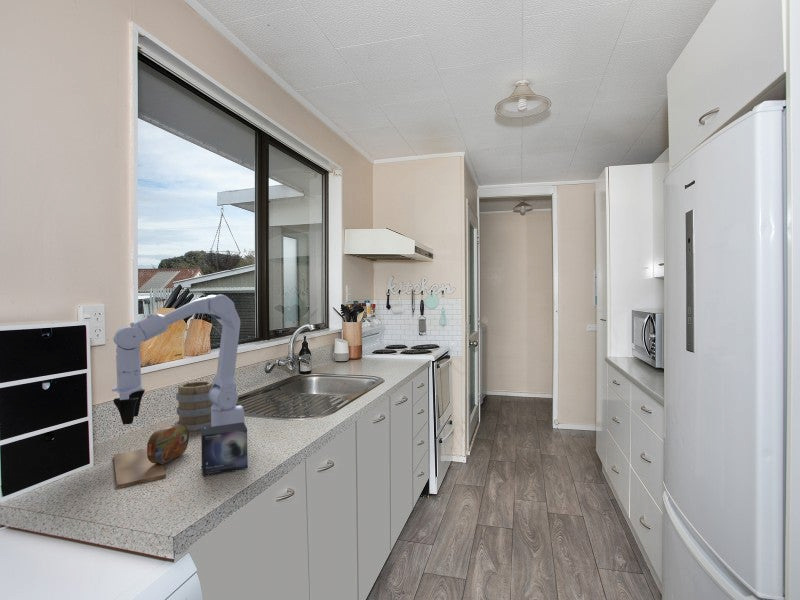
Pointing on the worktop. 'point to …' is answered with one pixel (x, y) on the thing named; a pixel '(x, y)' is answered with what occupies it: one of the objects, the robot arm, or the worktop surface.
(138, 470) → the chopping board
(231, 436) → the small box
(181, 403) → the tankard
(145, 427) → the worktop surface
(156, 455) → the tin
